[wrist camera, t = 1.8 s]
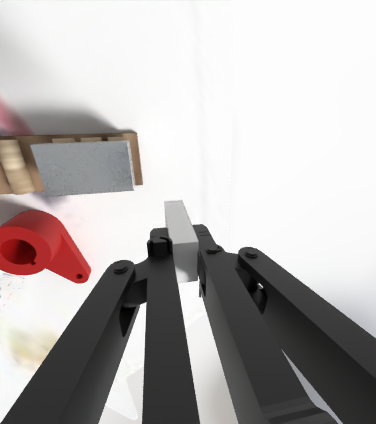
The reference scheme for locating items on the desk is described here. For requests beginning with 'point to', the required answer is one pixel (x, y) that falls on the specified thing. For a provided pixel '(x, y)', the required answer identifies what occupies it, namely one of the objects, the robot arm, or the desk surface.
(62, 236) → the lever
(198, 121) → the desk surface
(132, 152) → the board
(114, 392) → the desk surface
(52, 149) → the slab
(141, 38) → the desk surface
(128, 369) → the desk surface
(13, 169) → the roller
